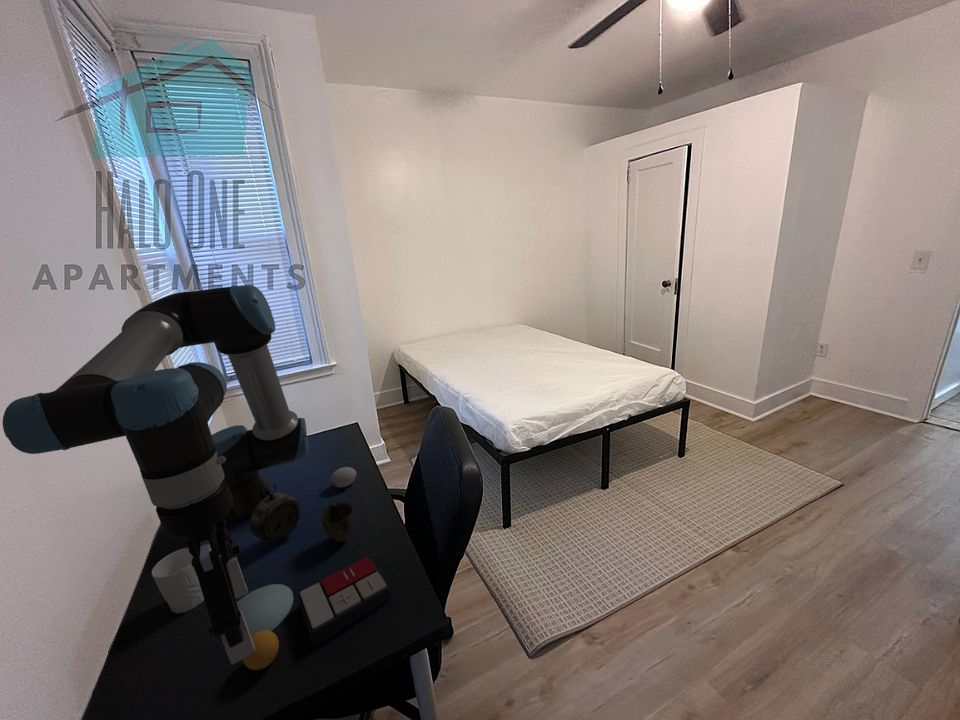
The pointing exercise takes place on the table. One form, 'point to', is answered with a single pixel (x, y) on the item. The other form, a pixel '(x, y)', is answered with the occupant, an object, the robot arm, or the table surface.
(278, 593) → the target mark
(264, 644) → the ball
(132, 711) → the table surface
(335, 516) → the dark brown rounded lump
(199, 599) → the white cup
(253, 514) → the alarm clock
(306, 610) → the calculator
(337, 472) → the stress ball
